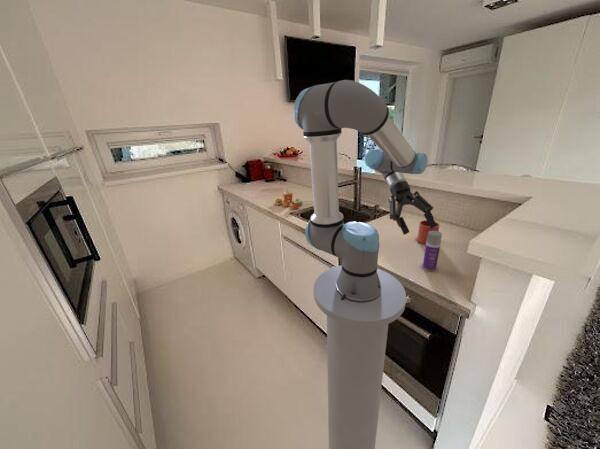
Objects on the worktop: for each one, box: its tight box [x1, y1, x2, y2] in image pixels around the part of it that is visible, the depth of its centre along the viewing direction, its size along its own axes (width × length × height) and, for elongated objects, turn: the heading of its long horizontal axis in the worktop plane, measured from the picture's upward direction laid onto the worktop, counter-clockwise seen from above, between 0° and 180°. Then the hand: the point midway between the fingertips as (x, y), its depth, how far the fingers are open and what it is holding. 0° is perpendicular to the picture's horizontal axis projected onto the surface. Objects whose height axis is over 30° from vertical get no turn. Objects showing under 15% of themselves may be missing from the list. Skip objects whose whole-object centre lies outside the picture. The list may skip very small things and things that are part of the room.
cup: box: [416, 219, 441, 246], centre depth 115 cm, size 8×8×9 cm
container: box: [422, 231, 443, 272], centre depth 93 cm, size 5×5×15 cm
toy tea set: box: [273, 189, 303, 211], centre depth 179 cm, size 26×16×10 cm, turn 43°
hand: (420, 230), depth 96 cm, fingers open, 13 cm apart
